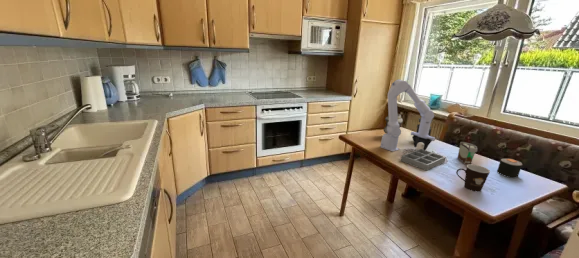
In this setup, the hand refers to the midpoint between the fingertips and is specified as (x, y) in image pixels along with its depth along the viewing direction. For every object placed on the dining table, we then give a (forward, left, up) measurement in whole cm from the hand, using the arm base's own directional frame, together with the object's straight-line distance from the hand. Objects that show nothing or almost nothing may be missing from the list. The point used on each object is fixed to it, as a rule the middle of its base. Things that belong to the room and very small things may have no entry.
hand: (420, 148), depth 159 cm
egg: (0, 0, -2) cm, 2 cm away
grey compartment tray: (+10, -16, -2) cm, 19 cm away
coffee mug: (+37, -27, -2) cm, 46 cm away
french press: (-8, +18, -2) cm, 20 cm away
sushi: (+43, +8, -2) cm, 44 cm away
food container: (+24, +8, -2) cm, 25 cm away
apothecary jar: (-25, +7, -2) cm, 26 cm away
